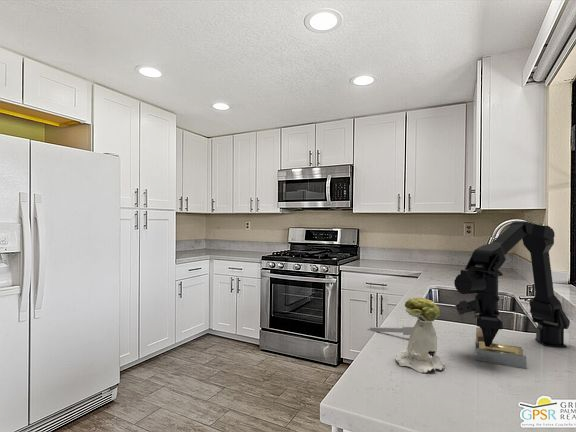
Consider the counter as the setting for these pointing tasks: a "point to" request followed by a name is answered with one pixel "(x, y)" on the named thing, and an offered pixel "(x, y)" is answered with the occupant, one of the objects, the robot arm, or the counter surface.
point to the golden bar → (501, 348)
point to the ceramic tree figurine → (421, 337)
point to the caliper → (392, 330)
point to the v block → (501, 357)
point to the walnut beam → (479, 335)
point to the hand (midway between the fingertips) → (486, 344)
